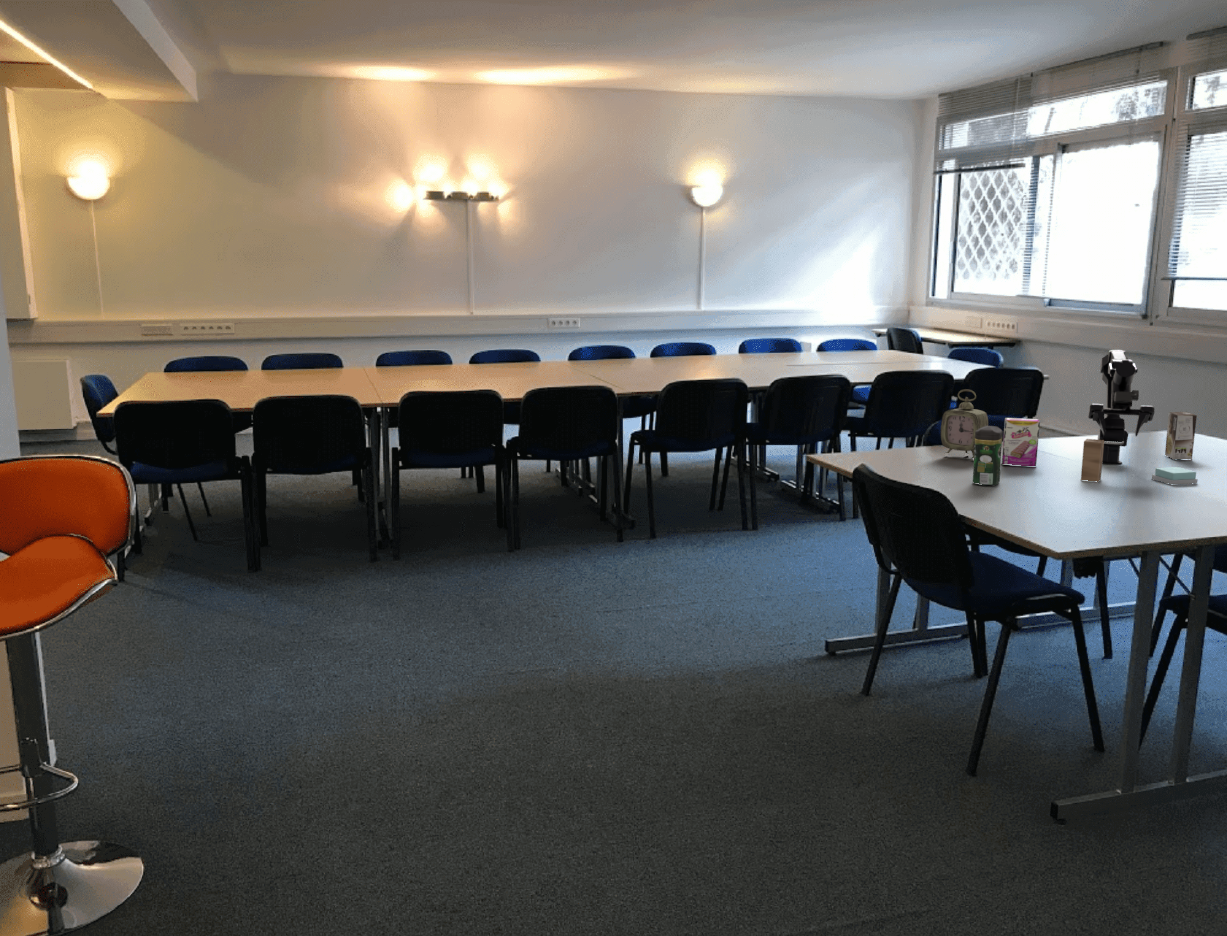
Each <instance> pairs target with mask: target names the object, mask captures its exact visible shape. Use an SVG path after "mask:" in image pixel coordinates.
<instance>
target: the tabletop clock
mask: <svg viewBox="0 0 1227 936" xmlns="http://www.w3.org/2000/svg"><path fill="white" fill-rule="evenodd" d="M963 392H970V393H972V394H973V395H974V398H971V399H969V397H967V396H965V398H962V397H961V396H960V393H963ZM957 398H958V399H959V400H960V401H962V402H961V403H959V405H958V408H954V409H948V410H946V411H944V412H943V415H942V416H941V423H940V424H941V425H940V440H941V445H942V446H943V447H945V448H947V449H948V451H947V452H945V453H950V452H951V451H953V450H955V451H963V452H965V453H968V452H971V454H972V457H971V459H972V458H974V450H975V432H976V430H978V429H980V428H982V427H984V426H989V417H988V414H987V412H985V411H984V410H980V409H974V408H975V407H974V405H973V404H972V402H973V401H975V400H976V399H977V395H976V392H975V391H973V390H972V389H966V388H965V389H961V390H960V391H958V393H957Z"/></svg>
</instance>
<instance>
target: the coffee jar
mask: <svg viewBox="0 0 1227 936" xmlns="http://www.w3.org/2000/svg"><path fill="white" fill-rule="evenodd" d="M1003 434H1004V431H1003V430H1002V429H1001V428H1000V427H999V426H996V425H995V426H994V425H988V426H984V427H982V428H980V429H978V430H976V432H975V450H974V461H973V468H972V469H973V471H972V472H973V473H972V483H973V482H974V483H979V484H982V485H995V486H997V485H998V484H1000V481H1001V465H1002V448H1003ZM974 483H973V484H974Z"/></svg>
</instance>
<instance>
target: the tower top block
mask: <svg viewBox="0 0 1227 936" xmlns="http://www.w3.org/2000/svg"><path fill="white" fill-rule="evenodd" d="M1154 475H1157V476H1160V477H1164V478H1167V479H1170V480H1184V479H1197V477H1196V476H1197V471H1194V470H1191V469H1187V468H1183V467H1180V466H1173V467H1156V468H1155V472H1154Z"/></svg>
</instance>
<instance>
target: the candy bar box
mask: <svg viewBox="0 0 1227 936" xmlns="http://www.w3.org/2000/svg"><path fill="white" fill-rule="evenodd" d="M1040 423H1041V421H1040V419H1039V418H1038V419H1037V418H1017V417H1016V418H1015V417H1005V418H1004V426H1003V427H1004V428H1003V438H1002V450H1001V465H1002V464H1012V465H1021V466H1036V467H1037V459H1038V450H1039V449H1038V446H1039V434H1040Z"/></svg>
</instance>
